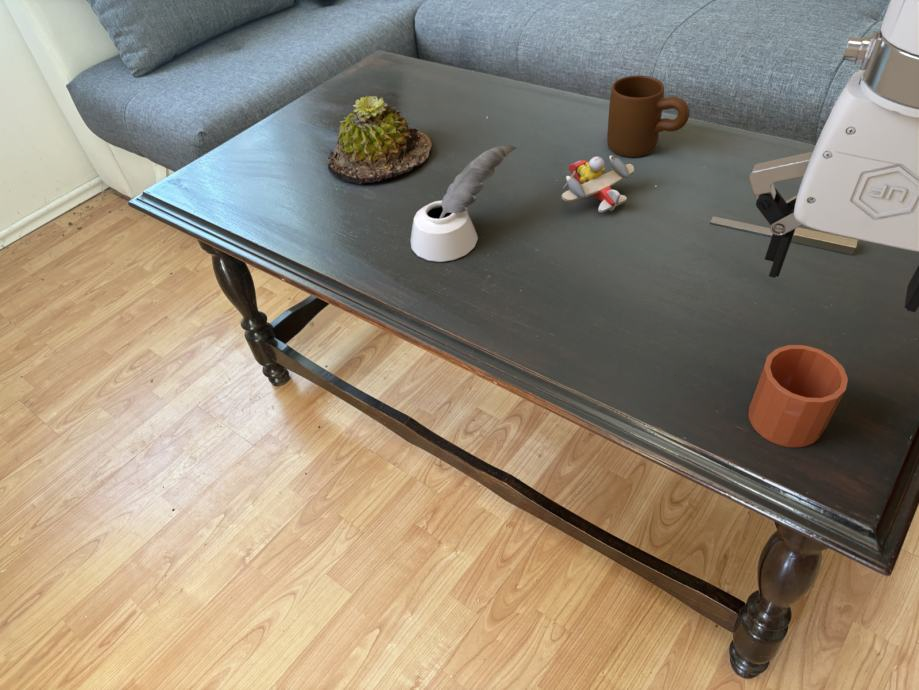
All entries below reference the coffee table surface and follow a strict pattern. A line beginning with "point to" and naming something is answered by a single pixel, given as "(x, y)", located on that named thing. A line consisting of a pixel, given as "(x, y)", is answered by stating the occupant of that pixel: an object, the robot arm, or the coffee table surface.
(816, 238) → the knife
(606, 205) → the toy airplane
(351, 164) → the cactus
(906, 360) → the coffee table surface
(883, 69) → the robot arm
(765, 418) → the pot
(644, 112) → the mug
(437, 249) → the inkwell
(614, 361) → the coffee table surface
